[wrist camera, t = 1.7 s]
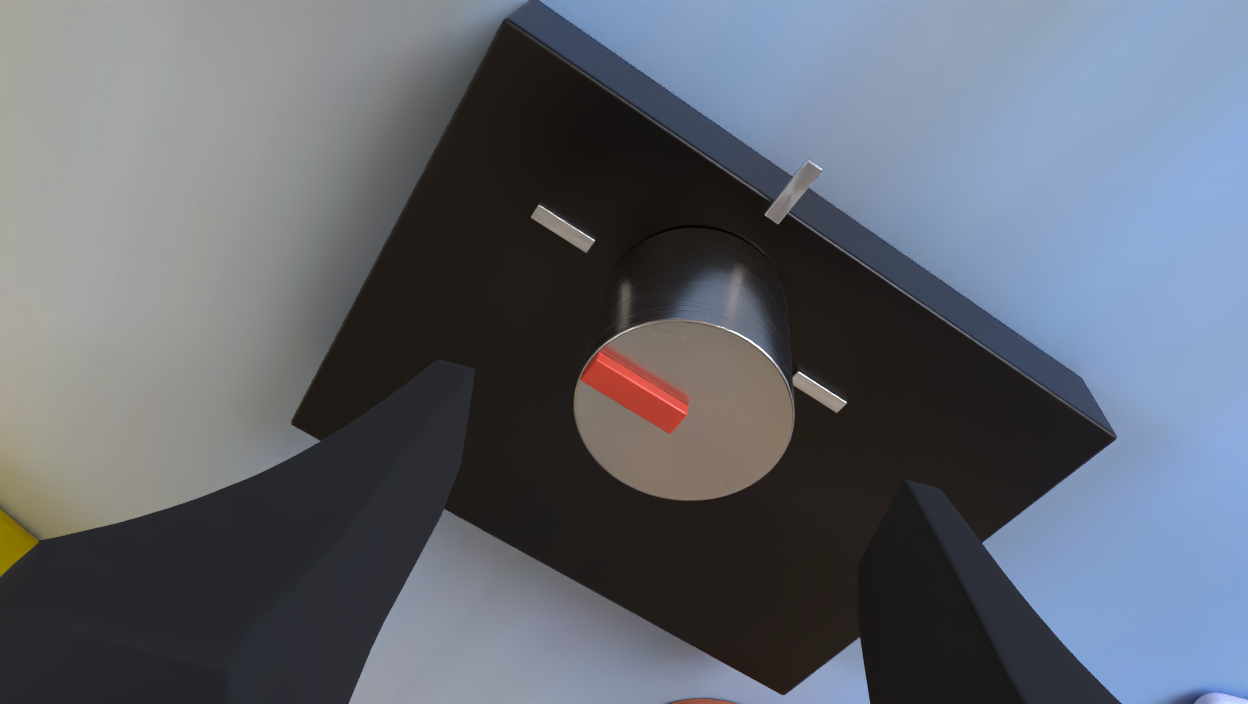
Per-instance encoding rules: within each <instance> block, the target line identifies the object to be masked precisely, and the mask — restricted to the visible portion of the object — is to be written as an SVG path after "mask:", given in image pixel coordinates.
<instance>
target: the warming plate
mask: <svg viewBox="0 0 1248 704" xmlns="http://www.w3.org/2000/svg"><path fill="white" fill-rule="evenodd" d="M821 172H822V167H820V166H819V165H817V164H816V163H814V162H813V161H812V160H810V159H809V158H808V159H807V160H806V161H805V162H804V163H803V165H802V166H801V167H800V168H799V170H798V171H797V172H796V173H795V175H794V176H793V177H792V176H790V175H789V174H787V173H786V172H784V171H783V170H782V169H780V168H779V167H777V166H776V165H774V164H773V163H772V162H770V161H769V160H767V159H766V158H764V157H763V156H761V155H760V154H759V153H757V152H756V151H754V150H753V149H751V148H750V147H748V146H747V145H746V144H744V143H743V142H741V141H740V140H738V139H737V138H736V137H734V136H733V135H731V134H730V133H728V132H727V131H725V130H724V129H723V128H721V127H720V126H718V125H717V124H715V123H714V122H713V121H711V120H710V119H708V118H707V117H705V116H704V115H702V114H701V113H700V112H698V111H697V110H695V109H694V108H692V107H691V106H690V105H688V104H687V103H685V102H684V101H682V100H681V99H679V98H678V97H677V96H675V95H674V94H672V93H671V92H669V91H668V90H667V89H665V88H664V87H662V86H661V85H659V84H658V83H656V82H655V81H654V80H652V79H651V78H649V77H648V76H646V75H645V74H644V73H642V72H641V71H639V70H638V69H636V68H635V67H633V66H632V65H631V64H629V63H628V62H626V61H625V60H623V59H622V58H621V57H619V56H618V55H616V54H615V53H613V52H612V51H610V50H609V49H608V48H606V47H605V46H603V45H602V44H600V43H599V42H598V41H596V40H595V39H593V38H592V37H590V36H589V35H587V34H586V33H585V32H583V31H582V30H580V29H579V28H577V27H576V26H574V25H573V24H572V23H570V22H569V21H567V20H566V19H564V18H563V17H562V16H560V15H559V14H557V13H556V12H554V11H553V10H551V9H550V8H549V7H547V6H546V5H544V4H543V3H541V2H540V1H539V0H529V1H528V2H527V3H525V4H524V5H523V6H521V7H520V8H519V9H517V10H516V11H515V12H513V13H512V14H511V15H509V16H508V17H507V18H505V19H504V20H503V22H502V23H501V25H500V27H499V29H498V31H497V33H496V35H495V37H494V39H493V40H492V42H491V44H490V46H489V48H488V50H487V52H486V54H485V56H484V57H483V59H482V61H481V63H480V65H479V67H478V69H477V71H476V73H475V74H474V76H473V78H472V80H471V82H470V84H469V86H468V88H467V90H466V91H465V93H464V95H463V97H462V99H461V101H460V103H459V105H458V107H457V108H456V110H455V112H454V114H453V116H452V118H451V120H450V122H449V124H448V125H447V127H446V129H445V131H444V133H443V135H442V137H441V139H440V141H439V142H438V144H437V146H436V148H435V150H434V152H433V154H432V156H431V158H430V159H429V161H428V163H427V165H426V167H425V169H424V171H423V173H422V175H421V176H420V178H419V180H418V182H417V184H416V186H415V188H414V190H413V192H412V193H411V195H410V197H409V199H408V201H407V203H406V205H405V207H404V209H403V210H402V212H401V214H400V216H399V218H398V220H397V222H396V224H395V226H394V227H393V229H392V231H391V233H390V235H389V237H388V239H387V241H386V243H385V244H384V246H383V248H382V250H381V252H380V254H379V256H378V258H377V260H376V261H375V263H374V265H373V267H372V269H371V271H370V273H369V275H368V276H367V278H366V280H365V282H364V284H363V286H362V288H361V290H360V292H359V293H358V295H357V297H356V299H355V301H354V303H353V305H352V307H351V309H350V310H349V312H348V314H347V316H346V318H345V320H344V322H343V324H342V326H341V327H340V329H339V331H338V333H337V335H336V337H335V339H334V341H333V343H332V344H331V346H330V348H329V350H328V352H327V354H326V356H325V358H324V360H323V361H322V363H321V365H320V367H319V369H318V371H317V373H316V375H315V377H314V378H313V380H312V382H311V384H310V386H309V388H308V390H307V392H306V394H305V395H304V397H303V399H302V401H301V403H300V405H299V407H298V409H297V411H296V412H295V414H294V416H293V418H292V420H291V424H292V425H293V426H295V427H297V428H298V429H300V430H302V431H304V432H306V433H307V434H309V435H311V436H313V437H315V438H317V439H318V440H320V441H322V440H323V439H325V438H327V437H328V436H330V435H332V434H333V433H335V432H337V431H338V430H340V429H342V428H343V427H345V426H346V425H348V424H350V423H351V422H353V421H354V420H356V419H357V418H359V417H360V416H362V415H363V414H364V413H366V412H367V411H369V410H370V409H372V408H373V407H375V406H376V405H377V404H379V403H380V402H382V401H383V400H385V399H386V398H387V397H389V396H390V395H392V394H393V393H394V392H396V391H397V390H398V389H400V388H401V387H402V386H404V385H405V384H406V383H408V382H409V381H410V380H411V379H413V378H414V377H415V376H417V375H418V374H419V373H420V372H422V371H423V370H424V369H426V368H427V367H428V366H429V365H431V364H432V363H434V362H436V361H437V360H439V359H440V360H444V361H448V362H452V363H455V364H459V365H463V366H467V367H471V368H475V376H474V382H473V389H472V395H471V402H470V409H469V415H468V422H467V428H466V435H465V441H464V448H463V454H462V461H461V465H460V468H459V470H458V473H457V476H456V478H455V481H454V484H453V486H452V489H451V492H450V494H449V497H448V499H447V502H446V504H445V507H444V509H445V510H447V511H449V512H451V513H453V514H454V515H456V516H458V517H460V518H462V519H463V520H465V521H467V522H469V523H471V524H473V525H474V526H476V527H478V528H480V529H482V530H483V531H485V532H487V533H489V534H491V535H493V536H494V537H496V538H498V539H500V540H502V541H503V542H505V543H507V544H509V545H511V546H512V547H514V548H516V549H518V550H520V551H522V552H523V553H525V554H527V555H529V556H531V557H532V558H534V559H536V560H538V561H540V562H542V563H543V564H545V565H547V566H549V567H551V568H552V569H554V570H556V571H558V572H560V573H561V574H563V575H565V576H567V577H569V578H571V579H572V580H574V581H576V582H578V583H580V584H581V585H583V586H585V587H587V588H589V589H591V590H592V591H594V592H596V593H598V594H600V595H601V596H603V597H605V598H607V599H609V600H610V601H612V602H614V603H616V604H618V605H620V606H621V607H623V608H625V609H627V610H629V611H630V612H632V613H634V614H636V615H638V616H640V617H641V618H643V619H645V620H647V621H649V622H650V623H652V624H654V625H656V626H658V627H659V628H661V629H663V630H665V631H667V632H669V633H670V634H672V635H674V636H676V637H678V638H679V639H681V640H683V641H685V642H687V643H688V644H690V645H692V646H694V647H696V648H698V649H699V650H701V651H703V652H705V653H707V654H708V655H710V656H712V657H714V658H716V659H718V660H719V661H721V662H723V663H725V664H727V665H728V666H730V667H732V668H734V669H736V670H737V671H739V672H741V673H743V674H745V675H747V676H748V677H750V678H752V679H754V680H756V681H757V682H759V683H761V684H763V685H765V686H767V687H768V688H770V689H772V690H774V691H776V692H777V693H779V694H781V695H785V694H787V693H788V692H789V691H791V690H792V689H793V688H794V687H796V686H797V685H798V684H800V683H801V682H802V681H804V680H805V679H806V678H807V677H809V676H810V675H811V674H813V673H814V672H815V671H816V670H818V669H819V668H820V667H822V666H823V665H824V664H826V663H827V662H828V661H829V660H831V659H832V658H833V657H835V656H836V655H837V654H839V653H840V652H841V651H842V650H844V649H845V648H846V647H848V646H849V645H850V644H851V643H853V642H854V641H855V640H857V639H858V638H859V637H860V631H859V624H858V564H859V562H860V560H861V559H862V557H863V555H864V553H865V551H866V549H867V547H868V545H869V543H870V542H871V540H872V538H873V536H874V534H875V532H876V530H877V528H878V526H879V524H880V523H881V521H882V519H883V517H884V515H885V513H886V511H887V509H888V507H889V506H890V504H891V502H892V500H893V498H894V496H895V494H896V492H897V490H898V488H899V487H900V485H901V483H902V481H903V479H905V480H908V481H912V482H916V483H920V484H924V485H928V486H932V487H936V488H939V489H940V490H941V491H942V492H943V493H944V494H945V496H946V497H947V498H948V499H949V501H950V502H951V503H952V504H953V506H954V507H955V508H956V510H957V511H958V512H959V514H960V515H961V516H962V518H963V519H964V520H965V522H966V523H967V524H968V526H969V527H970V528H971V530H972V531H973V532H974V534H975V535H976V536H977V538H978V539H979V540H980V542H981V543H982V542H984V541H985V540H986V539H988V538H989V537H990V536H991V535H993V534H994V533H995V532H997V531H998V530H999V529H1000V528H1002V527H1003V526H1004V525H1006V524H1007V523H1008V522H1010V521H1011V520H1012V519H1013V518H1015V517H1016V516H1017V515H1019V514H1020V513H1021V512H1022V511H1024V510H1025V509H1026V508H1028V507H1029V506H1030V505H1032V504H1033V503H1034V502H1035V501H1037V500H1038V499H1039V498H1041V497H1042V496H1043V495H1045V494H1046V493H1047V492H1048V491H1050V490H1051V489H1052V488H1054V487H1055V486H1056V485H1057V484H1059V483H1060V482H1061V481H1063V480H1064V479H1065V478H1067V477H1068V476H1069V475H1070V474H1072V473H1073V472H1074V471H1076V470H1077V469H1078V468H1079V467H1081V466H1082V465H1083V464H1085V463H1086V462H1087V461H1089V460H1090V459H1091V458H1092V457H1094V456H1095V455H1096V454H1098V453H1099V452H1100V451H1102V450H1103V449H1104V448H1105V447H1107V446H1108V445H1109V444H1111V443H1112V442H1113V441H1114V440H1116V438H1117V436H1116V434H1115V432H1114V431H1113V429H1112V427H1111V426H1110V424H1109V422H1108V421H1107V419H1106V417H1105V416H1104V414H1103V412H1102V411H1101V409H1100V408H1099V406H1098V404H1097V403H1096V401H1095V399H1094V398H1093V396H1092V394H1091V393H1090V391H1089V389H1088V388H1087V386H1086V384H1085V383H1084V381H1083V379H1082V378H1081V377H1079V376H1078V375H1076V374H1075V373H1073V372H1072V371H1071V370H1069V369H1068V368H1066V367H1065V366H1063V365H1062V364H1061V363H1059V362H1058V361H1056V360H1055V359H1053V358H1052V357H1050V356H1049V355H1048V354H1046V353H1045V352H1043V351H1042V350H1040V349H1039V348H1038V347H1036V346H1035V345H1033V344H1032V343H1030V342H1029V341H1027V340H1026V339H1025V338H1023V337H1022V336H1020V335H1019V334H1017V333H1016V332H1015V331H1013V330H1012V329H1010V328H1009V327H1007V326H1006V325H1004V324H1003V323H1002V322H1000V321H999V320H997V319H996V318H994V317H993V316H992V315H990V314H989V313H987V312H986V311H984V310H983V309H981V308H980V307H979V306H977V305H976V304H974V303H973V302H971V301H970V300H969V299H967V298H966V297H964V296H963V295H961V294H960V293H958V292H957V291H956V290H954V289H953V288H951V287H950V286H948V285H947V284H946V283H944V282H943V281H941V280H940V279H938V278H937V277H935V276H934V275H933V274H931V273H930V272H928V271H927V270H925V269H924V268H923V267H921V266H920V265H918V264H917V263H915V262H914V261H912V260H911V259H910V258H908V257H907V256H905V255H904V254H902V253H901V252H899V251H898V250H897V249H895V248H894V247H892V246H891V245H889V244H888V243H887V242H885V241H884V240H882V239H881V238H879V237H878V236H876V235H875V234H874V233H872V232H871V231H869V230H868V229H866V228H865V227H864V226H862V225H861V224H859V223H858V222H856V221H855V220H853V219H852V218H851V217H849V216H848V215H846V214H845V213H843V212H842V211H841V210H839V209H838V208H836V207H835V206H833V205H832V204H830V203H829V202H828V201H826V200H825V199H823V198H822V197H820V196H819V195H818V194H816V193H815V192H813V191H812V190H810V189H809V187H810V185H811V184H812V183H813V182H814V180H815V179H816V178H817V177H818V176H819V174H820V173H821ZM682 228H706V229H712V230H717V231H721V232H724V233H728V234H730V235H733V236H735V237H738V238H740V239H742V240H743V241H745V242H747V243H748V244H750V245H751V246H753V247H754V248H755V249H757V250H758V251H759V252H760V253H761V254H762V255H763V256H764V257H765V258H766V259H767V260H768V261H769V262H770V263H771V265H772V266H773V267H774V269H775V270H776V272H777V274H778V276H779V277H780V279H781V282H782V284H783V287H784V290H785V294H786V299H787V309H788V322H789V336H790V350H791V363H792V377H793V391H794V405H795V422H794V429H793V433H792V437H791V440H790V442H789V444H788V447H787V449H786V451H785V452H784V454H783V455H782V457H781V458H780V460H779V461H778V462H777V464H776V465H775V466H774V467H773V468H772V469H771V470H770V471H769V472H768V473H767V474H766V475H765V476H763V477H762V478H761V479H760V480H758V481H757V482H755V483H754V484H752V485H751V486H749V487H747V488H745V489H743V490H741V491H738V492H735V493H733V494H730V495H727V496H723V497H719V498H715V499H708V500H700V501H682V500H671V499H666V498H660V497H657V496H653V495H649V494H646V493H644V492H641V491H639V490H636V489H634V488H632V487H630V486H628V485H626V484H624V483H622V482H621V481H619V480H618V479H616V478H615V477H613V476H612V475H611V474H610V473H608V472H607V471H606V470H605V469H604V468H603V467H602V466H601V465H600V464H599V463H598V462H597V461H596V460H595V459H594V458H593V456H592V455H591V454H590V452H589V451H588V450H587V448H586V446H585V444H584V442H583V441H582V439H581V436H580V434H579V431H578V429H577V426H576V421H575V416H574V405H573V402H574V391H575V387H576V384H577V380H578V377H579V374H580V370H581V367H582V364H583V361H584V358H585V355H586V352H587V349H588V346H589V342H590V339H591V336H592V333H593V330H594V327H595V324H596V321H597V317H598V314H599V311H600V308H601V305H602V302H603V299H604V296H605V293H606V289H607V286H608V283H609V281H610V278H611V276H612V274H613V272H614V270H615V269H616V267H617V266H618V264H619V263H620V261H621V260H622V259H623V258H624V257H625V256H626V255H627V254H628V253H629V252H630V251H631V250H632V249H633V248H634V247H636V246H637V245H639V244H640V243H642V242H643V241H645V240H647V239H649V238H651V237H653V236H655V235H658V234H660V233H663V232H666V231H671V230H675V229H682Z"/></svg>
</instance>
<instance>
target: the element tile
mask: <svg viewBox="0 0 1248 704" xmlns="http://www.w3.org/2000/svg"><path fill="white" fill-rule="evenodd" d="M39 542H40V541H39V540H37V539H36V538H35V537H34V536H33V535H31V534H30V533H29V532H28V531H27V530H26V529H24V528H23V527H22V526H21V525H20V524H18V523H17V522H16V521H15V520H14V519H12V518H11V517H10V516H9V515H8V514H7V513H5V512H4V511H3V510H2V509H1V508H0V576H1V575H2V574H3V573H5V572H6V571H7V570H8V569H9V568H10V567H11V566H12V565H13V564H14V563H15V562H16V561H18V560H19V559H20V558H21V557H22V556H23V555H25V554H26V553H27V552H28V551H29V550H31V549H32V548H33V547H34V546H35V545H36V544H38V543H39Z"/></svg>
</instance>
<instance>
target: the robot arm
mask: <svg viewBox="0 0 1248 704" xmlns="http://www.w3.org/2000/svg"><path fill="white" fill-rule="evenodd" d="M474 376H475V368H471V367H467V366H463V365H459V364H455V363H452V362H448V361H444V360H440V359H439V360H437V361H436V362H434V363H432V364H431V365H429V366H428V367H427V368H426V369H424V370H423V371H422V372H420V373H419V374H418V375H417V376H415V377H414V378H413V379H411V380H410V381H409V382H408V383H406V384H405V385H404V386H402V387H401V388H400V389H398V390H397V391H396V392H394V393H393V394H392V395H390V396H389V397H387V398H386V399H385V400H383V401H382V402H380V403H379V404H377V405H376V406H375V407H373V408H372V409H370V410H369V411H367V412H366V413H364V414H363V415H362V416H360V417H359V418H357V419H356V420H354V421H353V422H351V423H350V424H348V425H346V426H345V427H343V428H342V429H340V430H338V431H337V432H335V433H333V434H332V435H330V436H328V437H327V438H325V439H323V440H322V441H320V442H319V443H317V444H315V445H314V446H312V447H310V448H308V449H306V450H305V451H303V452H301V453H299V454H297V455H296V456H294V457H292V458H290V459H288V460H286V461H284V462H282V463H280V464H278V465H276V466H274V467H272V468H270V469H268V470H266V471H264V472H262V473H260V474H257V475H255V476H253V477H251V478H248V479H246V480H243V481H241V482H238V483H236V484H233V485H231V486H228V487H226V488H223V489H220V490H218V491H215V492H213V493H210V494H208V495H205V496H203V497H200V498H197V499H195V500H192V501H189V502H186V503H183V504H180V505H177V506H174V507H171V508H168V509H165V510H161V511H158V512H155V513H151V514H148V515H145V516H141V517H138V518H134V519H131V520H127V521H123V522H120V523H116V524H112V525H108V526H103V527H99V528H95V529H90V530H86V531H82V532H78V533H73V534H69V535H65V536H61V537H56V538H51V539H46V540H41V541H40V542H39V543H38V544H36V545H35V546H34V547H33V548H32V549H31V550H29V551H28V552H27V553H26V554H25V555H23V556H22V557H21V558H20V559H19V560H18V561H16V562H15V563H14V564H13V565H12V566H11V567H10V568H9V569H8V570H7V571H6V572H5V573H3V574H2V575H1V576H0V704H349V701H350V699H351V696H352V694H353V692H354V689H355V687H356V684H357V682H358V679H359V677H360V675H361V672H362V670H363V667H364V665H365V662H366V660H367V658H368V655H369V653H370V650H371V648H372V646H373V644H374V642H375V640H376V638H377V635H378V633H379V631H380V629H381V627H382V625H383V623H384V621H385V619H386V617H387V616H388V614H389V612H390V610H391V608H392V606H393V604H394V603H395V601H396V599H397V597H398V595H399V593H400V591H401V590H402V588H403V586H404V584H405V582H406V580H407V578H408V577H409V575H410V573H411V571H412V569H413V567H414V565H415V564H416V562H417V560H418V558H419V556H420V554H421V552H422V551H423V549H424V547H425V545H426V543H427V541H428V539H429V537H430V535H431V534H432V532H433V530H434V528H435V526H436V524H437V522H438V520H439V518H440V516H441V514H442V512H443V509H444V507H445V504H446V502H447V499H448V497H449V494H450V492H451V489H452V486H453V484H454V481H455V478H456V476H457V473H458V470H459V468H460V465H461V461H462V454H463V448H464V441H465V435H466V428H467V422H468V415H469V409H470V402H471V395H472V389H473V382H474ZM858 624H859V631H860V639H861V646H862V652H863V659H864V666H865V673H866V679H867V686H868V692H869V698H870V704H1121V703H1120V702H1119V701H1118V700H1117V699H1116V698H1115V697H1114V696H1113V695H1112V694H1111V693H1110V692H1109V691H1108V690H1107V689H1106V688H1105V687H1104V686H1103V685H1102V684H1101V683H1100V682H1099V681H1098V680H1097V679H1096V678H1095V677H1094V676H1093V675H1092V674H1091V673H1090V672H1089V671H1088V670H1087V669H1086V668H1085V667H1084V666H1083V665H1082V664H1081V663H1080V662H1079V661H1078V660H1077V658H1076V657H1075V656H1074V655H1073V654H1072V653H1071V652H1070V651H1069V650H1068V649H1067V648H1066V647H1065V645H1064V644H1063V643H1062V642H1061V641H1060V640H1059V639H1058V638H1057V636H1056V635H1055V634H1054V633H1053V632H1052V631H1051V629H1050V628H1049V627H1048V626H1047V625H1046V624H1045V622H1044V621H1043V620H1042V619H1041V618H1040V617H1039V615H1038V614H1037V613H1036V612H1035V611H1034V610H1033V608H1032V607H1031V606H1030V605H1029V603H1028V602H1027V601H1026V600H1025V599H1024V597H1023V596H1022V595H1021V594H1020V592H1019V591H1018V590H1017V589H1016V587H1015V586H1014V585H1013V584H1012V582H1011V581H1010V580H1009V578H1008V577H1007V576H1006V575H1005V573H1004V572H1003V571H1002V569H1001V568H1000V567H999V566H998V564H997V563H996V562H995V560H994V559H993V558H992V556H991V555H990V554H989V552H988V551H987V550H986V548H985V547H984V546H983V544H982V543H981V542H980V540H979V539H978V538H977V536H976V535H975V534H974V532H973V531H972V530H971V528H970V527H969V526H968V524H967V523H966V522H965V520H964V519H963V518H962V516H961V515H960V514H959V512H958V511H957V510H956V508H955V507H954V506H953V504H952V503H951V502H950V501H949V499H948V498H947V497H946V496H945V494H944V493H943V492H942V491H941V490H940V489H939V488H936V487H932V486H928V485H924V484H920V483H916V482H912V481H908V480H905V479H903V481H902V483H901V485H900V487H899V488H898V490H897V492H896V494H895V496H894V498H893V500H892V502H891V504H890V506H889V507H888V509H887V511H886V513H885V515H884V517H883V519H882V521H881V523H880V524H879V526H878V528H877V530H876V532H875V534H874V536H873V538H872V540H871V542H870V543H869V545H868V547H867V549H866V551H865V553H864V555H863V557H862V559H861V560H860V562H859V564H858ZM1194 704H1248V700H1246V699H1243V698H1239V697H1235V696H1231V695H1227V694H1223V693H1216V692H1214V693H1208V694H1205V695H1202V696H1201V697H1200V698H1198V699H1197V701H1196V702H1195V703H1194Z"/></svg>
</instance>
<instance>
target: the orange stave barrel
mask: <svg viewBox="0 0 1248 704" xmlns="http://www.w3.org/2000/svg"><path fill="white" fill-rule="evenodd" d="M670 704H735V703H732V702H728V701H723V700H716V699H688V700H682V701H677V702H673V703H670Z"/></svg>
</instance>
